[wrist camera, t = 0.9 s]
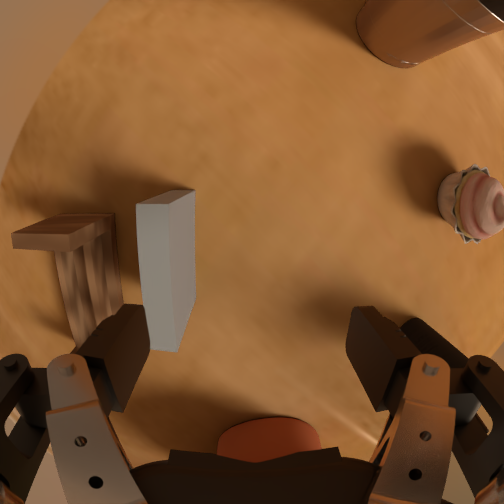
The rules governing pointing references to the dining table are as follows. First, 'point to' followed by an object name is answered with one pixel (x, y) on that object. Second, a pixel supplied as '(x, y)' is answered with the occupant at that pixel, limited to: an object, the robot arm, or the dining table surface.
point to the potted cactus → (267, 439)
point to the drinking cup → (435, 347)
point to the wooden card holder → (80, 266)
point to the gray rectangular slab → (167, 265)
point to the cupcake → (472, 203)
